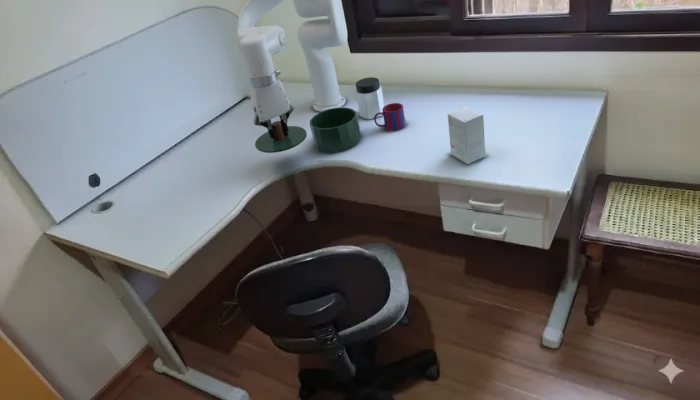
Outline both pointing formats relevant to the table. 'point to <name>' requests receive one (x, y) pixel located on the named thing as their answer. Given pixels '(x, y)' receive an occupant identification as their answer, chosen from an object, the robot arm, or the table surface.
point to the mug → (392, 117)
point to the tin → (335, 130)
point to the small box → (466, 134)
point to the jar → (369, 97)
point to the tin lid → (280, 139)
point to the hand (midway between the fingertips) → (280, 136)
